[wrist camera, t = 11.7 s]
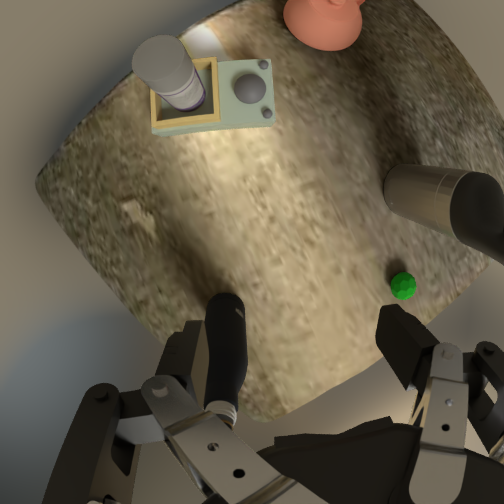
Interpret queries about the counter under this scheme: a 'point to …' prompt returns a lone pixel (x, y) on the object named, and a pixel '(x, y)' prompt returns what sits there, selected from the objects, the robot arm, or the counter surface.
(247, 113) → the grey-green box with tray
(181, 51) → the container
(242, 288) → the counter surface
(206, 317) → the wine bottle
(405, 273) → the polyhedron
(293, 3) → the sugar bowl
